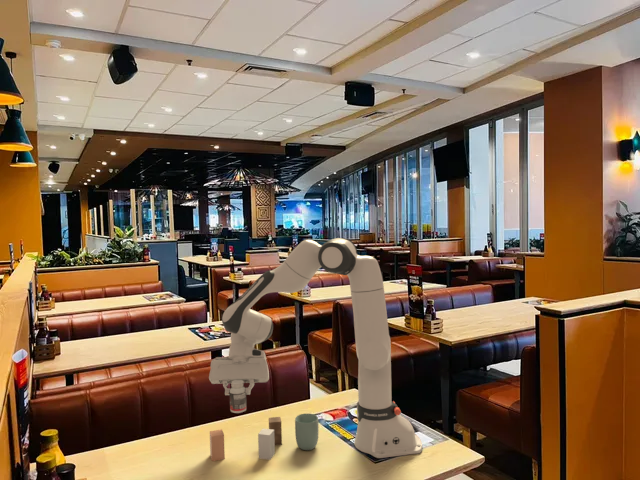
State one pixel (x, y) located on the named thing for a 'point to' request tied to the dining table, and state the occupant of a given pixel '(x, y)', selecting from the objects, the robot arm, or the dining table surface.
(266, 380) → the robot arm
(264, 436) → the grey block
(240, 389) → the pill bottle
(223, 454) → the terracotta block
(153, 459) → the dining table surface
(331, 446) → the dining table surface
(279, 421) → the walnut block
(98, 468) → the dining table surface
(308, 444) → the cup
